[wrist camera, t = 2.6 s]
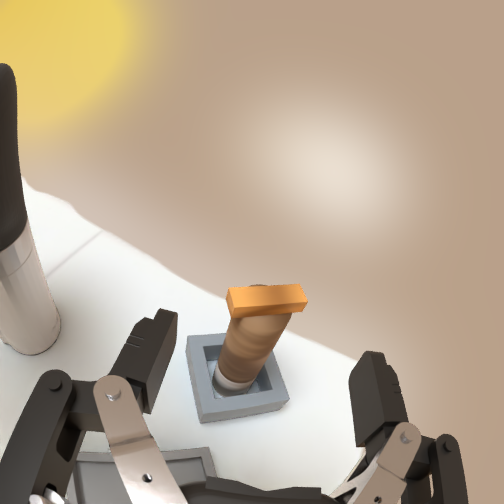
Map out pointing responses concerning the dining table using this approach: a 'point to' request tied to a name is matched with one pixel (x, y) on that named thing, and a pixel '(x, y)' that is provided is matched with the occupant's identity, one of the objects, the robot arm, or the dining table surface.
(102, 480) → the tool tray
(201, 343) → the tool holder
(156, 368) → the robot arm
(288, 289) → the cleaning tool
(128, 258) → the dining table surface
